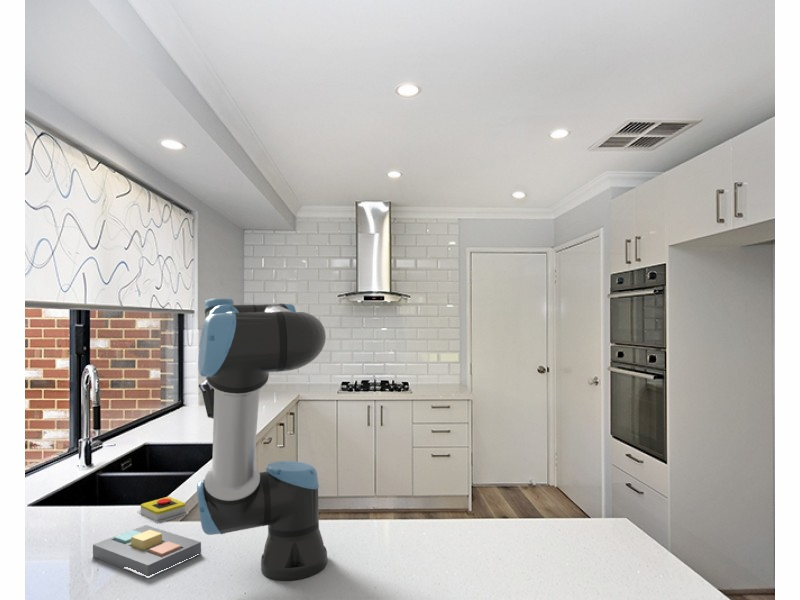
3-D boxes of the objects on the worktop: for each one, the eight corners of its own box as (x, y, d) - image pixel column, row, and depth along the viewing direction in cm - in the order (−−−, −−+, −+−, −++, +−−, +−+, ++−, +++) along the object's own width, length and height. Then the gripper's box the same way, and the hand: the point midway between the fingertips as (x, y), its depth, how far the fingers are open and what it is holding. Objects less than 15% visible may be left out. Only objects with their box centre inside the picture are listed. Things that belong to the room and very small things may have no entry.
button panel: (201, 554, 132) (200, 542, 132) (148, 578, 120) (147, 565, 120) (145, 536, 144) (145, 525, 144) (92, 556, 132) (92, 544, 132)
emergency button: (158, 509, 154) (135, 499, 163) (159, 524, 154) (136, 513, 163) (189, 500, 161) (165, 490, 170) (189, 515, 161) (166, 504, 170)
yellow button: (162, 545, 133) (162, 533, 133) (143, 553, 129) (143, 540, 129) (150, 541, 136) (150, 529, 136) (131, 549, 131) (131, 536, 132)
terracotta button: (181, 558, 129) (180, 545, 129) (162, 566, 125) (162, 553, 125) (168, 553, 132) (168, 541, 132) (149, 562, 127) (149, 549, 127)
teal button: (144, 545, 137) (144, 533, 137) (125, 553, 133) (125, 540, 133) (133, 541, 140) (133, 529, 140) (114, 548, 135) (114, 536, 135)
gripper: (229, 353, 153) (231, 436, 153) (191, 357, 142) (192, 446, 142) (248, 353, 150) (250, 438, 149) (209, 357, 138) (211, 449, 138)
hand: (222, 442), depth 145 cm, fingers closed
